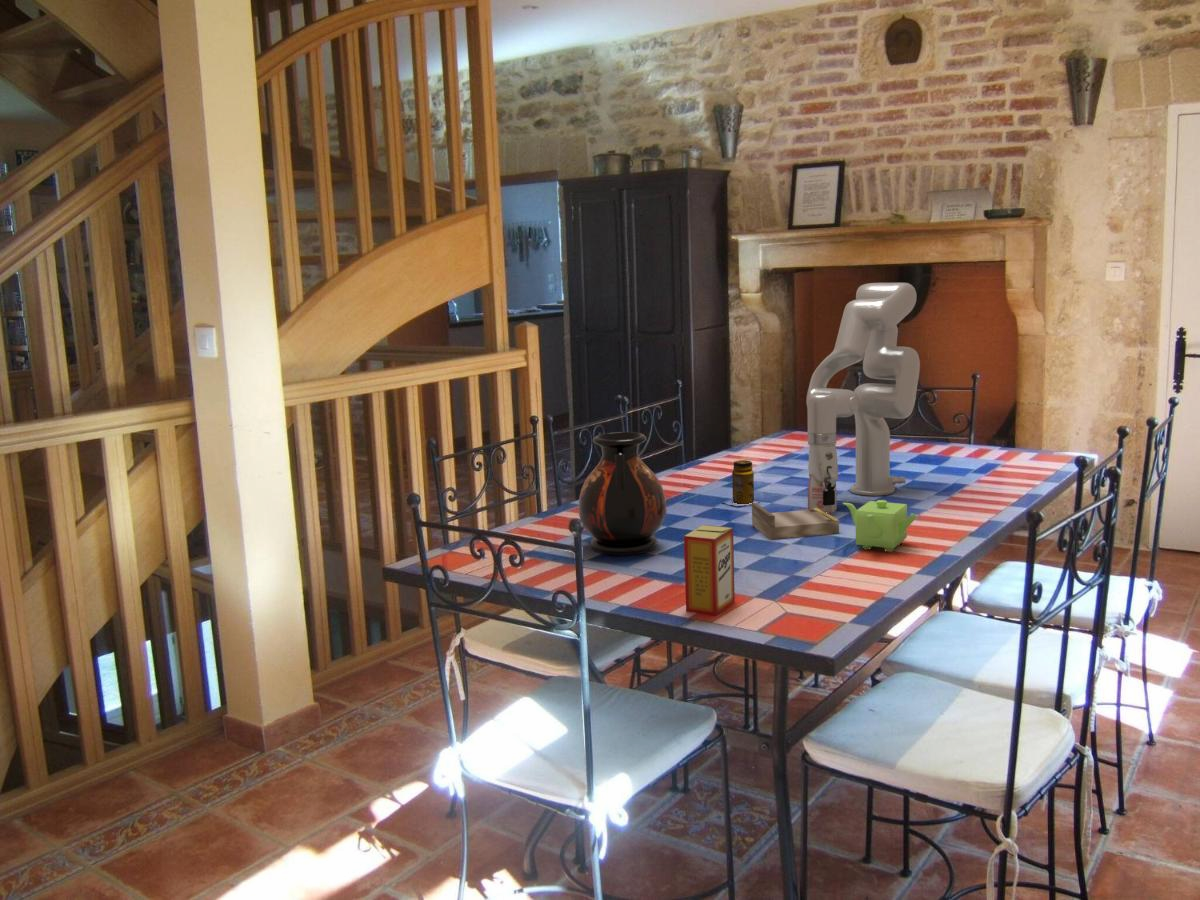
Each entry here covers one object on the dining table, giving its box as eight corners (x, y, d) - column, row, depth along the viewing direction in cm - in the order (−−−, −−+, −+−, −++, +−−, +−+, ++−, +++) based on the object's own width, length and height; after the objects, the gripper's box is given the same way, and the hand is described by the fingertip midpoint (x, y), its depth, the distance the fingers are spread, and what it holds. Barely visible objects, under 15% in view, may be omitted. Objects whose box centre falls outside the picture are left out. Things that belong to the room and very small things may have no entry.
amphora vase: (582, 537, 268) (577, 430, 262) (666, 534, 267) (662, 426, 262) (578, 561, 246) (572, 445, 241) (669, 558, 246) (665, 442, 240)
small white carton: (812, 508, 287) (812, 472, 285) (836, 510, 284) (836, 474, 282) (808, 511, 284) (807, 475, 282) (831, 513, 281) (831, 477, 279)
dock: (817, 519, 274) (817, 497, 273) (838, 533, 261) (838, 509, 260) (752, 525, 271) (751, 503, 270) (770, 539, 258) (770, 516, 257)
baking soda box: (715, 615, 206) (714, 537, 203) (686, 611, 209) (683, 534, 206) (734, 601, 214) (733, 525, 211) (705, 597, 217) (703, 522, 214)
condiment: (760, 503, 296) (759, 461, 294) (737, 508, 291) (737, 466, 289) (743, 498, 302) (742, 458, 300) (721, 503, 297) (720, 462, 295)
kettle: (867, 558, 239) (867, 510, 237) (838, 542, 253) (838, 497, 251) (925, 550, 243) (926, 503, 241) (893, 536, 256) (893, 491, 254)
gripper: (848, 443, 273) (848, 507, 276) (822, 432, 289) (822, 493, 293) (821, 445, 271) (821, 509, 274) (796, 434, 288) (797, 495, 291)
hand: (822, 501), depth 284 cm, fingers open, 8 cm apart
